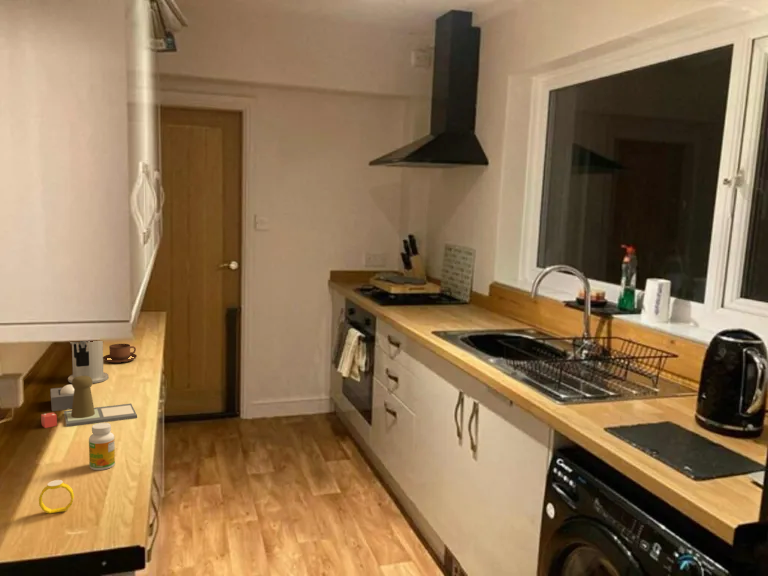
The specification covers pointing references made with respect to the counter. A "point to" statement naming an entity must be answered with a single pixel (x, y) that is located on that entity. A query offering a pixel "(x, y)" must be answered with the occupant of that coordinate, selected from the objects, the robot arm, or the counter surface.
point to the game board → (103, 415)
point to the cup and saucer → (120, 353)
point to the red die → (49, 420)
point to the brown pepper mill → (82, 397)
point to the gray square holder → (60, 400)
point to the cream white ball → (67, 390)
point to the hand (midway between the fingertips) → (81, 361)
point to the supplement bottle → (101, 447)
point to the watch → (55, 485)
